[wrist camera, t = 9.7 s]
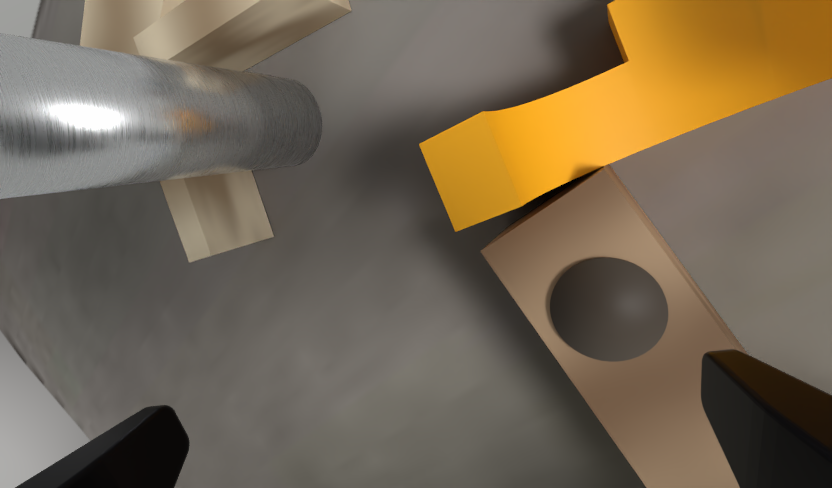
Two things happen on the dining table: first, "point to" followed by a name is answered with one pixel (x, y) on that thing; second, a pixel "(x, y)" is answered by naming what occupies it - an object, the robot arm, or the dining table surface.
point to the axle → (139, 119)
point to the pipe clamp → (633, 97)
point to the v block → (217, 47)
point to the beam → (621, 325)
